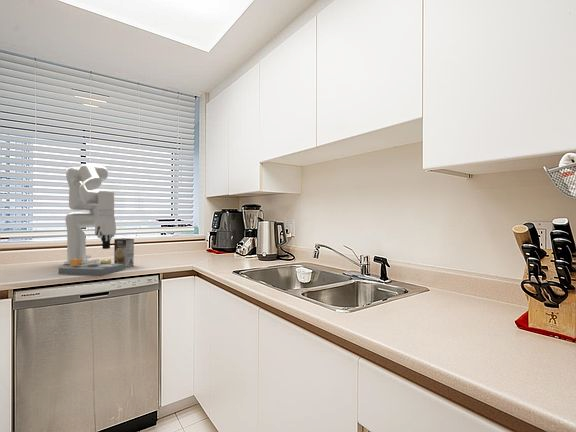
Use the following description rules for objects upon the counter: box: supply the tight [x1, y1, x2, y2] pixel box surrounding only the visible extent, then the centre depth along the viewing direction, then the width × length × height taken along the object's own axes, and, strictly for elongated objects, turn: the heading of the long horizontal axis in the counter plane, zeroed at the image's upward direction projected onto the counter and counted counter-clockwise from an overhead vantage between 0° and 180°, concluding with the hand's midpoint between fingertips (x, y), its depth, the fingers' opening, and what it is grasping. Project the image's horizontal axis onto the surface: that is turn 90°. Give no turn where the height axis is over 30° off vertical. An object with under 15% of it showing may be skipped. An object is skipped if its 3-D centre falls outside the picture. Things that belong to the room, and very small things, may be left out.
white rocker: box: [85, 258, 101, 264], centre depth 164 cm, size 4×5×2 cm
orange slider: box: [69, 259, 82, 266], centre depth 163 cm, size 3×4×4 cm
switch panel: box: [58, 262, 126, 276], centre depth 164 cm, size 18×24×4 cm
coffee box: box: [113, 237, 135, 268], centre depth 184 cm, size 9×6×16 cm
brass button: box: [100, 258, 112, 264], centre depth 163 cm, size 5×5×2 cm
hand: (106, 248), depth 163 cm, fingers closed
